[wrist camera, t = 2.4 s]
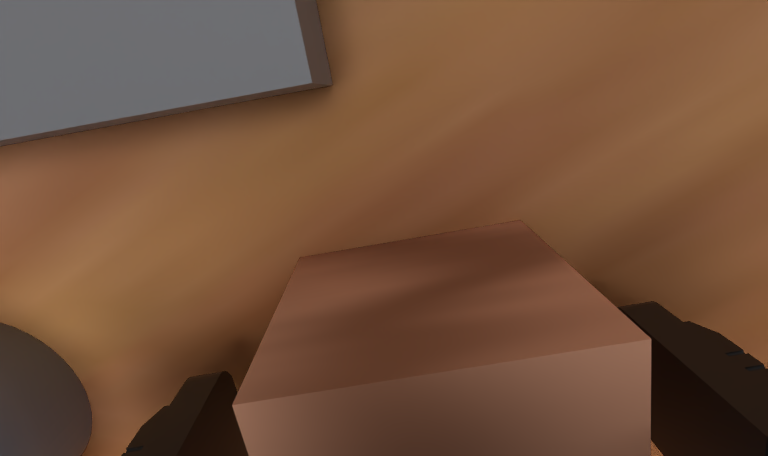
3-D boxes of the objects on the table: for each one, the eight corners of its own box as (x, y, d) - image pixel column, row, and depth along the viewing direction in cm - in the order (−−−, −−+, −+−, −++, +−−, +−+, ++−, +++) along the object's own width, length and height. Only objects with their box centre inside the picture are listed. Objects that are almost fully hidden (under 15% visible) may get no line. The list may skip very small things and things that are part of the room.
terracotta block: (519, 219, 10) (651, 338, 5) (535, 403, 11) (649, 628, 7) (300, 256, 10) (231, 405, 5) (344, 432, 12) (320, 673, 7)
